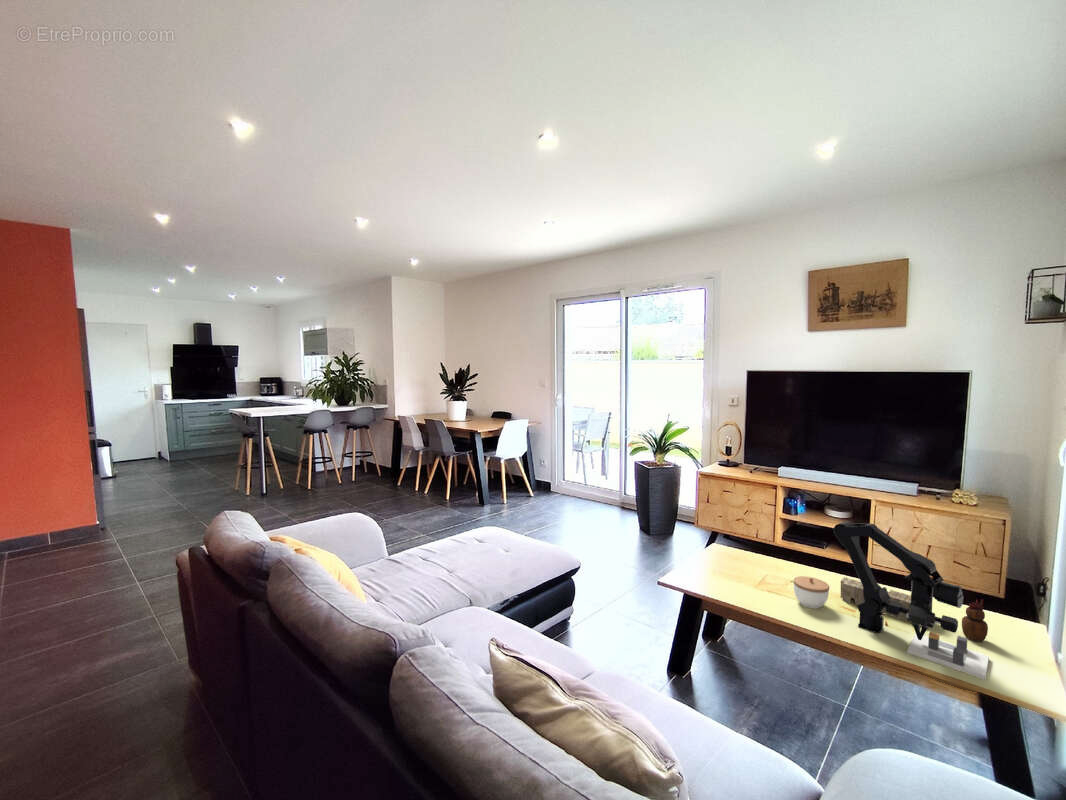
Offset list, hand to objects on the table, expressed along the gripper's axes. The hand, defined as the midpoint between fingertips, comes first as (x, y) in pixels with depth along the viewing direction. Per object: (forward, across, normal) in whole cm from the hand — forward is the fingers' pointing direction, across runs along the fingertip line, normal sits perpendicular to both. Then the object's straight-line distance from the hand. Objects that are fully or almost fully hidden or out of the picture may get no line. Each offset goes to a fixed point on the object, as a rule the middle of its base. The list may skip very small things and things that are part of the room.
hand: (919, 639), depth 162 cm
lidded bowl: (+3, -36, +6) cm, 36 cm away
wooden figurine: (+3, +12, +20) cm, 24 cm away
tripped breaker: (+1, +4, 0) cm, 4 cm away
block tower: (+3, -15, +23) cm, 27 cm away
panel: (+3, +7, 0) cm, 8 cm away
